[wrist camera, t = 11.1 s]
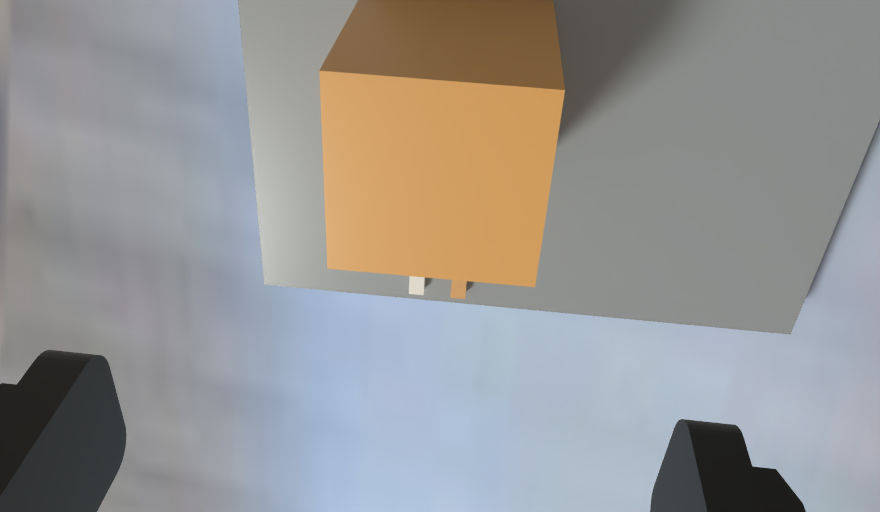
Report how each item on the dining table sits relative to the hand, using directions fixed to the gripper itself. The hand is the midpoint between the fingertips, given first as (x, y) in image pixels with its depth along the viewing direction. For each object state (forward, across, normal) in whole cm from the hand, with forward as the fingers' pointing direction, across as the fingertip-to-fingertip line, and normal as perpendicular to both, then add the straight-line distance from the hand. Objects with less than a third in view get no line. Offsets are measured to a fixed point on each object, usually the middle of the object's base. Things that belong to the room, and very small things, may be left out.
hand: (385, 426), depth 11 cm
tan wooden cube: (+13, 0, 0) cm, 13 cm away
